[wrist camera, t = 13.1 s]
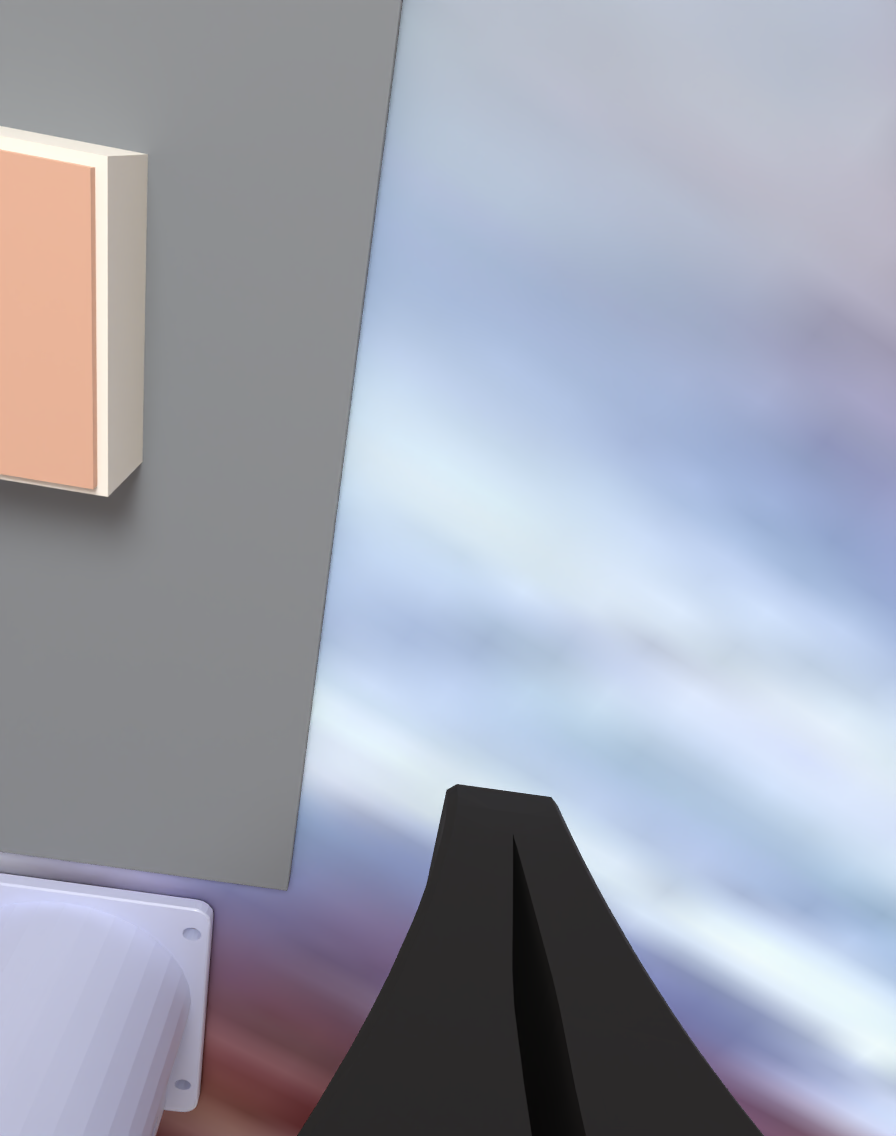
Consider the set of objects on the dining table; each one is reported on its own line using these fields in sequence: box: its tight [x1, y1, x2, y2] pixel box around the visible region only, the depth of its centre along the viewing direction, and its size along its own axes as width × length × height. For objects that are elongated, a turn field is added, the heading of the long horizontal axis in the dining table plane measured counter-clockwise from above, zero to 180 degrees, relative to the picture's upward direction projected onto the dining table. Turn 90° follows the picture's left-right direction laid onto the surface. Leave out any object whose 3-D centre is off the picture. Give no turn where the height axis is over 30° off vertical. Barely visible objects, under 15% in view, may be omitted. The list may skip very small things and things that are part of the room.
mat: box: [0, 0, 403, 891], centre depth 19 cm, size 22×14×1 cm, turn 170°
